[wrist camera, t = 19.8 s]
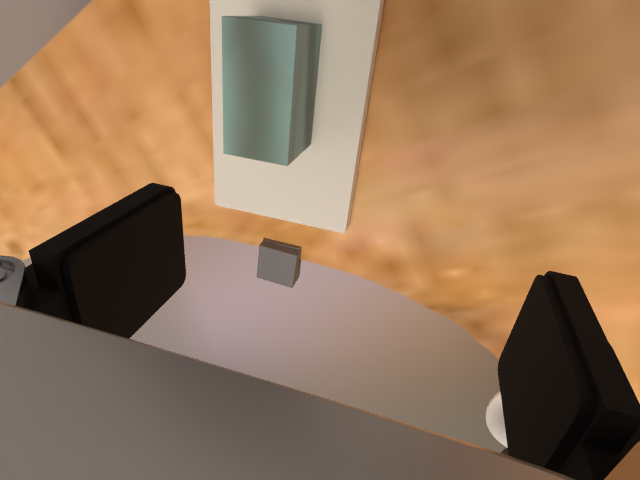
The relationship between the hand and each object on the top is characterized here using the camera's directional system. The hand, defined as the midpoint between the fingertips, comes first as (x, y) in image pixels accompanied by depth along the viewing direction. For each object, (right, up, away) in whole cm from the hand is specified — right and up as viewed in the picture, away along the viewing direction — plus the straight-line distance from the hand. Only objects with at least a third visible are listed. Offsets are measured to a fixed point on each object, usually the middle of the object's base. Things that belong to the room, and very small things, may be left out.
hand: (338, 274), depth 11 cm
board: (-3, +14, +24) cm, 28 cm away
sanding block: (-3, +13, +22) cm, 26 cm away
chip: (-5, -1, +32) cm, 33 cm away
